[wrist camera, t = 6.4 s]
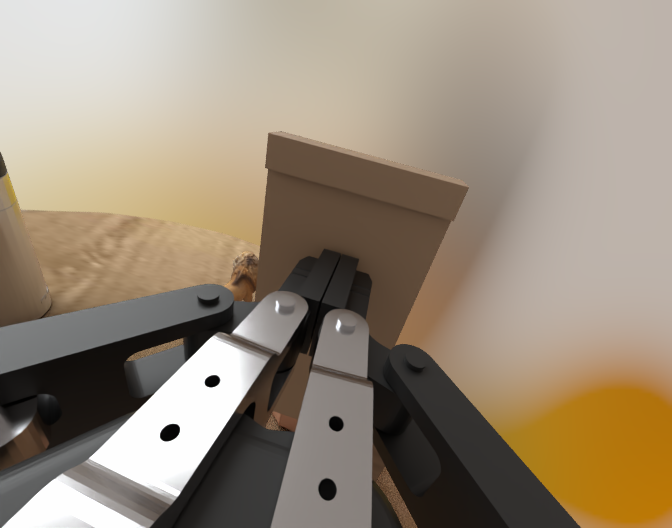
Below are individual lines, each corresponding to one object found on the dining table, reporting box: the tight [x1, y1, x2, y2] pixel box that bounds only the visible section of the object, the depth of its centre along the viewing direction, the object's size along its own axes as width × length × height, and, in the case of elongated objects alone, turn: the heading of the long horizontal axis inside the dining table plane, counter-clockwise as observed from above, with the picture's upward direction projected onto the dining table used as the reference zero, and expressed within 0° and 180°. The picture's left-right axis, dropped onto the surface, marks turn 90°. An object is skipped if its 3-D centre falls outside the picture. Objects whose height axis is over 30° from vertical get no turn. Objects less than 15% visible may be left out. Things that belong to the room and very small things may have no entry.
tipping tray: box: [255, 131, 469, 419], centre depth 19 cm, size 13×8×16 cm, turn 168°
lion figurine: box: [224, 252, 259, 302], centre depth 40 cm, size 15×5×9 cm, turn 167°
